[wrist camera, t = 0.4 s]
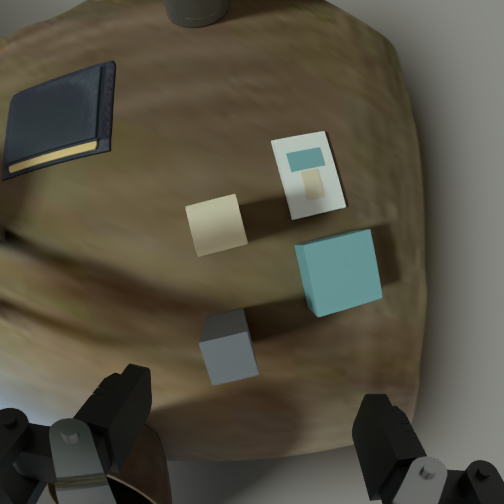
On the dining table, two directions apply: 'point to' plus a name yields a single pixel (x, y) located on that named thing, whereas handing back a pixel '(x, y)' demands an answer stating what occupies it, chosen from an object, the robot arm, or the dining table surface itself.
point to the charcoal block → (228, 347)
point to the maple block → (216, 225)
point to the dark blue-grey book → (60, 120)
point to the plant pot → (139, 474)
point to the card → (308, 174)
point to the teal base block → (339, 271)
